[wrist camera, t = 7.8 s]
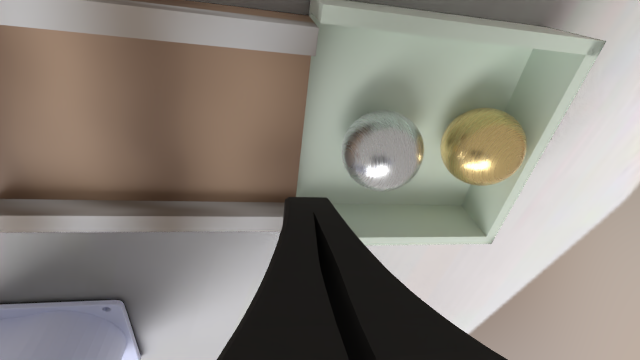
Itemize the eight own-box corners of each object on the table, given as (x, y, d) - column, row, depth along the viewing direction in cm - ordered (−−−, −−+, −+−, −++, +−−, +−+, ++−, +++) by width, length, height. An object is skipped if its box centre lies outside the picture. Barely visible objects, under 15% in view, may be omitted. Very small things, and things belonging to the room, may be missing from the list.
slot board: (28, 191, 17) (-14, 232, 15) (-70, -31, 12) (-165, -29, 9) (291, 195, 20) (295, 231, 17) (308, 15, 15) (318, 27, 12)
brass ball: (415, 167, 18) (473, 206, 15) (437, 98, 16) (507, 127, 14) (463, 160, 20) (523, 193, 17) (488, 96, 18) (559, 122, 15)
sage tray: (290, 206, 20) (294, 246, 18) (310, -5, 14) (323, 4, 11) (462, 207, 23) (491, 243, 20) (546, 26, 16) (606, 41, 14)
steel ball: (380, 147, 20) (321, 161, 18) (403, 89, 17) (336, 98, 15) (421, 196, 17) (359, 217, 16) (456, 138, 14) (384, 155, 13)
